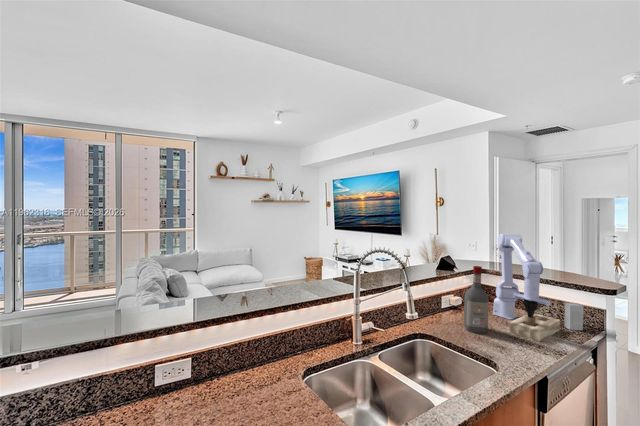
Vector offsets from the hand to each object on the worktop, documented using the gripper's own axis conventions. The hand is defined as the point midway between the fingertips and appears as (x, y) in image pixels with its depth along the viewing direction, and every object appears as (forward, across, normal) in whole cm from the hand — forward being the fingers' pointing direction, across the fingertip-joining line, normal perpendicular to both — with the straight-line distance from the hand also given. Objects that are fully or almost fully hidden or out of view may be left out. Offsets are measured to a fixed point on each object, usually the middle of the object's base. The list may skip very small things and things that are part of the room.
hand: (530, 316), depth 144 cm
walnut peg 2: (+8, 0, +12) cm, 14 cm away
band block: (+8, 0, +6) cm, 10 cm away
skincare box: (+8, +9, +26) cm, 29 cm away
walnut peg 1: (+5, 0, 0) cm, 5 cm away
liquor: (+8, -17, -16) cm, 25 cm away
